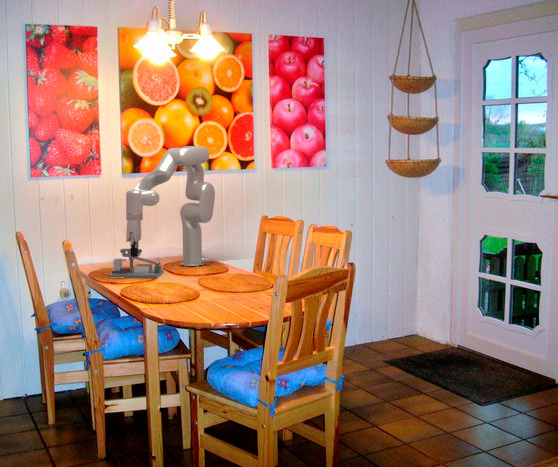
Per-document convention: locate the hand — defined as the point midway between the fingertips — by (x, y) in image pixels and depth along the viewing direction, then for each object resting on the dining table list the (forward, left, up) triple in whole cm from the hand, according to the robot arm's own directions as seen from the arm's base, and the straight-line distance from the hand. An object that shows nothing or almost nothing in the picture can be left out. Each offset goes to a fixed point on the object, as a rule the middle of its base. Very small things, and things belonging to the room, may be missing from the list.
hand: (134, 256), depth 321 cm
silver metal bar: (-4, -1, -3) cm, 5 cm away
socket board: (-1, -1, -9) cm, 9 cm away
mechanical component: (+6, -18, -9) cm, 21 cm away
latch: (+7, -1, -7) cm, 10 cm away
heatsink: (-4, -1, -8) cm, 8 cm away
